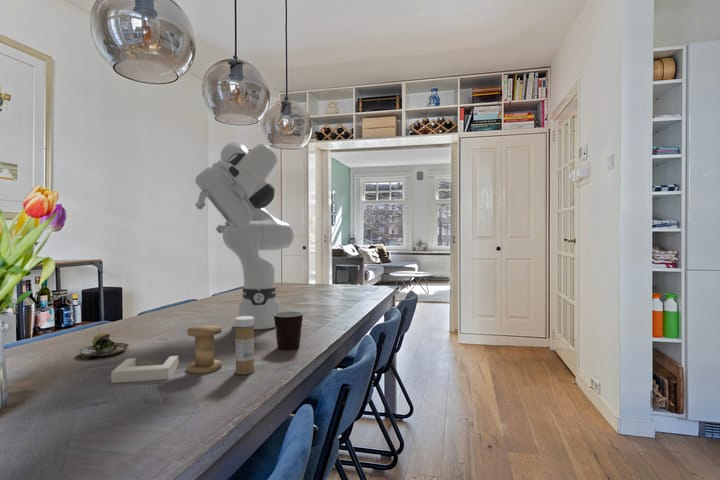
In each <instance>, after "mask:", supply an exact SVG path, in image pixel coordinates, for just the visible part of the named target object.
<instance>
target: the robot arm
mask: <svg viewBox="0 0 720 480" xmlns="http://www.w3.org/2000/svg"><path fill="white" fill-rule="evenodd" d="M277 163H278V157H277V155H276V154H275V152H274V151H273V150H272V149H271V148H270V147H269V146H267V145H265V144H263V143H260V144H257V145H256V146H254V147H253V148H252V149H251V150H249V148H248V147H246V146H245V145H244V144H242V143H241V142H237V141H236V142H235V141H234V142H229V143H227V144H226V145H225V146H223V148H222V150H221V153H220V160H218V161H217V162H215V163H213V164H212V165H211V166H210V167H206V168H205V169H203V170H202V171H201V172H199V174H198V175H197V176H196V177H195V184H196V185H197V187H199V189H200V190H201V191H200V192H199V195H198V199H197V201H196V203H195V204H194V206H195V207H196V209H197V210H203V209H204V207H206V203H205V201H206V198H207V199H208V200H209V201H210V202H211V203H212V205H213V206H214V208H216V209H217V211H218V212H219V213H220V214H221V216H222V218H224V219H225V222H224V225H223V224H222V225H221V224H218V226H217V227H216V228H215V230H216V231H217V233H219V234H222V241H223V243H224V245H225V246H226V247H227V248H228V249H229V250H231V251H232V252H233V253H234V254H235V255H236V256H237V258H238V259H239V261H240V263H241V266H242V273H243V288H242V292H241V293H242V300H241V302H239V303H238V313H237V315H238V316H237V317H241V316H252V317H254V327H253V330H266V329H272V328H275V321H274V314H275V313H278V312H281V309H280V307H281V304H280V301H279V300H277V298H276V296H277V289H276V288H277V287H276V286H275V279H276V278H275V266H274V265H273V263H271V262H269V260H266V259H264V258H261V256H260V254H259V251H278V250H283V249H287V248H289V247H291V245H292V244H293V240H294V238H295V236H294V235H295V234H294V231H293V227H292V226H291V225H290V224H289V223H288V222H286V221H285V222H284V221H282V220H280V219H278V218H277V217H276V216H274V215H273V214H272V213H271V212H270V211H268V209H267V206H268V205H270V204H271V202H273V201H274V199H275V193H276V191H275V190H276V189H275V187H274V185H272V184H271V183H270V182H269V181H268V180H267V178H268V176H269V175H271V172H272V171H273V170H274V168H275V166H276V164H277ZM232 327H234V328H235V322H234V323H233V324H232Z"/></svg>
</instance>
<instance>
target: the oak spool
mask: <svg viewBox="0 0 720 480" xmlns="http://www.w3.org/2000/svg"><path fill="white" fill-rule="evenodd" d="M186 332H187V336H189V337H194V339H195V340H194V343H195V344H194V345H195V346H194V347H195V348H194V350H195V351H194V352H195V353H194V354H195V355H194V358H195V359H194V361H192V362H190V363H189V364H188V365H187V373H190V374H194V375H203V374H204V375H205V374H211V373H214V372H216V371H219V370H220V369H222V366H223V365H222V364H223V363H222V361H221V360H218V359H215V336H216V335H218V334H221V333H222V326H221V325H215V324H214V325H213V324H206V325H204V324H203V325H196V326H192V327H190V328H188V329H187V331H186Z"/></svg>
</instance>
